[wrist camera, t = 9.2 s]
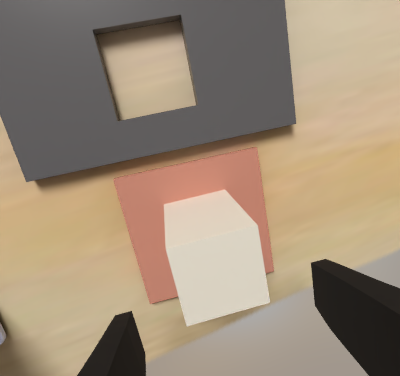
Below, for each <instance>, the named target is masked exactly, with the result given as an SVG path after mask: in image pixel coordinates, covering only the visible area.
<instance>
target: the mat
mask: <svg viewBox="0 0 400 376" xmlns="http://www.w3.org/2000/svg"><path fill="white" fill-rule="evenodd" d="M113 180H114V184H115V187H116V190H117V194H118V197H119V200H120V204H121V207H122V211H123V214H124V217H125V221H126V224H127V227H128V231H129V234H130V238H131V241H132V244H133V248H134V251H135V254H136V258H137V261H138V265H139V268H140V271H141V275H142V278H143V281H144V285H145V288H146V292H147V295H148V298H149V302H150V304H152V303H156V302H159V301H163V300H167V299H171V298H175V297H178V293H177V289H176V285H175V282H174V278H173V274H172V271H171V267H170V263H169V260H168V256H167V252H166V245H165V222H164V204H167V203H171V202H176V201H180V200H184V199H188V198H192V197H196V196H200V195H204V194H208V193H212V192H217V191H221V190H226V191H227V192H228V193H229V194H230V195H231V197H232V198H233V199H234V200H235V201H236V202H237V203H238V204H239V205H240V206H241V207H242V209H243V210H244V211H245V212H246V213H247V214H248V215H249V216H250V217H251V218H252V219H253V221H254V222H255V223H256V224H257V225H258V230H259V236H260V242H261V249H262V255H263V261H264V267H265V273H269V272H273V271H274V268H273V260H272V253H271V246H270V239H269V231H268V224H267V217H266V210H265V202H264V195H263V188H262V180H261V173H260V166H259V159H258V151H257V148H256V147H253V148H249V149H244V150H240V151H235V152H230V153H226V154H221V155H217V156H212V157H208V158H203V159H199V160H194V161H190V162H185V163H181V164H176V165H172V166H167V167H163V168H158V169H154V170H149V171H145V172H140V173H136V174H131V175H127V176H122V177H118V178H114V179H113Z"/></svg>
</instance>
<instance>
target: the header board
mask: <svg viewBox="0 0 400 376" xmlns="http://www.w3.org/2000/svg"><path fill="white" fill-rule="evenodd" d="M176 20H180V23H181V28H182V33H183V38H184V44H185V49H186V54H187V59H188V65H189V70H190V75H191V80H192V85H193V91H194V96H195V101H196V106H191V107H186V108H181V109H176V110H171V111H166V112H161V113H156V114H152V115H147V116H142V117H137V118H132V119H127V120H122V121H119V117H118V114H117V110H116V106H115V103H114V99H113V95H112V92H111V88H110V84H109V81H108V77H107V73H106V70H105V66H104V62H103V59H102V55H101V51H100V48H99V44H98V40H97V37H96V34H101V33H107V32H113V31H118V30H124V29H130V28H136V27H141V26H147V25H153V24H159V23H164V22H170V21H176ZM0 116H1V118H2V121H3V123H4V126H5V128H6V131H7V134H8V136H9V139H10V141H11V144H12V146H13V149H14V151H15V154H16V157H17V159H18V162H19V164H20V167H21V169H22V172H23V174H24V177H25V180H26V182H29V181H33V180H38V179H43V178H47V177H52V176H57V175H61V174H66V173H70V172H75V171H80V170H84V169H89V168H94V167H98V166H103V165H107V164H112V163H117V162H121V161H126V160H130V159H135V158H140V157H144V156H149V155H154V154H158V153H163V152H167V151H172V150H177V149H181V148H186V147H191V146H195V145H200V144H204V143H209V142H214V141H218V140H223V139H227V138H232V137H237V136H241V135H246V134H251V133H255V132H260V131H264V130H269V129H274V128H278V127H283V126H288V125H292V124H296V117H295V106H294V95H293V85H292V74H291V64H290V53H289V42H288V32H287V21H286V11H285V0H0Z"/></svg>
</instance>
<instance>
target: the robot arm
mask: <svg viewBox="0 0 400 376" xmlns="http://www.w3.org/2000/svg"><path fill="white" fill-rule="evenodd" d="M311 268H312V278H313V289H314V300H315V306H316V308H317V309H318V311H319V312H320V314H321V316H322V317H323V318H324V320H325V322H326V323H327V325H328V326H329V327H330V329H331V330H332V332H333V333H334V334H335V335H336V337H337V338H338V339H339V340H340V341H341V343H342V344H343V345H344V346H345V348H346V349H347V350H348V351H349V352H350V354H351V355H352V356H353V357H354V358H355V359H356V361H357V362H358V363H359V364H360V366H361V367H362V368H363V369H364V370H365V371H366V373H367V374H368V375H369V376H400V288H397V287H395V286H392V285H389V284H386V283H384V282H382V281H379V280H376V279H374V278H371V277H369V276H367V275H364V274H361V273H359V272H357V271H354V270H352V269H350V268H347V267H345V266H342V265H340V264H337V263H335V262H332V261H330V260H327V259H324V260H320V261H316V262H312V263H311ZM5 339H6V333H5V331H4V329H3V327H2V325H1V323H0V345H1V344H2V343H3V342H4V340H5ZM77 376H146V362H145V351H144V348H143V345H142V342H141V339H140V336H139V333H138V329H137V326H136V323H135V320H134V317H133V314H132V311H130V312H126V313H122V314H119V315H115V317H114V318H113V320H112V321H111V323H110V325H109V326H108V328H107V330H106V331H105V333H104V334H103V336H102V338H101V339H100V341H99V343H98V344H97V346H96V347H95V349H94V351H93V352H92V354H91V355H90V357H89V358H88V360H87V361H86V363H85V365H84V366H83V368H82V369H81V371H80V372H79V374H78V375H77Z"/></svg>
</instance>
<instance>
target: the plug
mask: <svg viewBox="0 0 400 376" xmlns="http://www.w3.org/2000/svg"><path fill="white" fill-rule="evenodd" d="M164 222H165V245H166V252H167V256H168V260H169V263H170V267H171V271H172V274H173V278H174V282H175V285H176V289H177V293H178V296H179V300H180V304H181V307H182V311H183V315H184V318H185V322H186V326H190V325H193V324H197V323H200V322H204V321H207V320H211V319H214V318H218V317H221V316H225V315H228V314H232V313H235V312H239V311H242V310H246V309H249V308H253V307H256V306H260V305H263V304H267V303H270V299H269V292H268V286H267V280H266V274H265V267H264V261H263V255H262V249H261V242H260V236H259V230H258V225H257V224H256V223H255V222H254V221H253V219H252V218H251V217H250V216H249V215H248V214H247V213H246V212H245V211H244V210H243V209H242V207H241V206H240V205H239V204H238V203H237V202H236V201H235V200H234V199H233V198H232V197H231V195H230V194H229V193H228V192H227V191H226V190H221V191H217V192H212V193H208V194H204V195H200V196H196V197H192V198H188V199H184V200H180V201H176V202H171V203H167V204H164Z"/></svg>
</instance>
